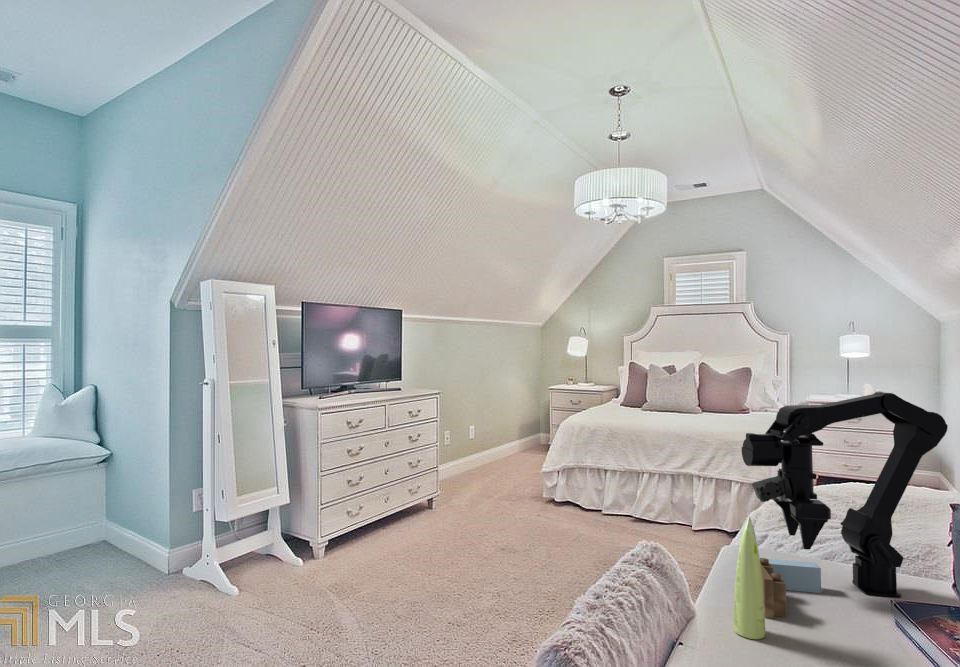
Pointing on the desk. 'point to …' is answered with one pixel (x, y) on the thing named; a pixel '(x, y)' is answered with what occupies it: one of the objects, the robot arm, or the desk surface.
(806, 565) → the light blue rectangular block
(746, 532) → the tube
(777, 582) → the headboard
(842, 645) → the desk surface
